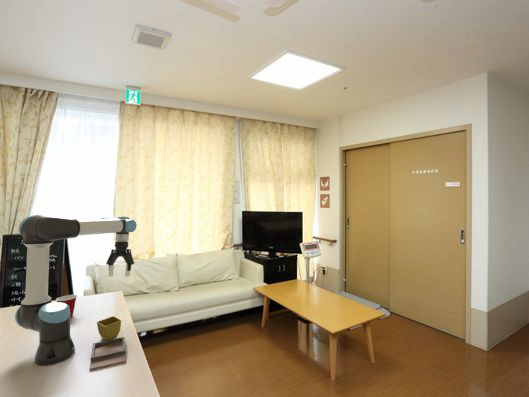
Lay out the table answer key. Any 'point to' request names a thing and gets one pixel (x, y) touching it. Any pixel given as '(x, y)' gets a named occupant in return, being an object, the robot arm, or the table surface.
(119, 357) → the tray
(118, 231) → the robot arm
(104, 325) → the flower pot
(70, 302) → the plastic cup
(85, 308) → the table surface
